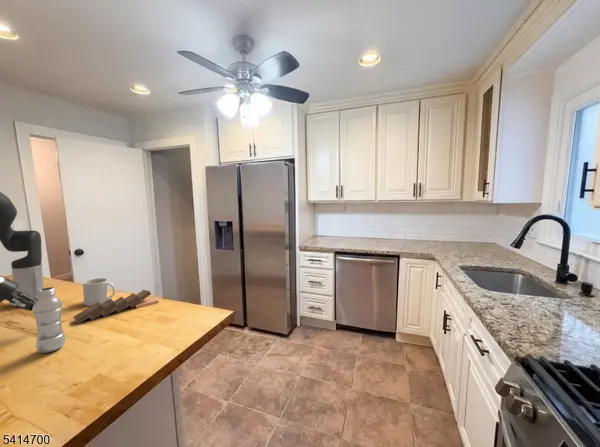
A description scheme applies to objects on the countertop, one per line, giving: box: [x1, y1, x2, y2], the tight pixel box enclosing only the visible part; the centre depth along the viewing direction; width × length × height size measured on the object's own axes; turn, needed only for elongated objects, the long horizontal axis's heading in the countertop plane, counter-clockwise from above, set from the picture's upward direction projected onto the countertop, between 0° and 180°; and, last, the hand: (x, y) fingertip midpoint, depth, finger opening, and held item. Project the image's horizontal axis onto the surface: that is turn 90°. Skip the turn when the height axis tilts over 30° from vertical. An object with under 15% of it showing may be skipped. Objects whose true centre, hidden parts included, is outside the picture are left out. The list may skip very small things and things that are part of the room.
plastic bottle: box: [32, 286, 66, 354], centre depth 80 cm, size 6×7×20 cm
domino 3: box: [101, 296, 127, 318], centre depth 107 cm, size 2×5×9 cm
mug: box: [82, 277, 116, 307], centre depth 118 cm, size 11×10×10 cm
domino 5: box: [127, 289, 152, 309], centre depth 116 cm, size 2×5×9 cm
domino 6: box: [134, 296, 160, 309], centre depth 117 cm, size 2×5×9 cm
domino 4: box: [114, 292, 139, 314], centre depth 111 cm, size 2×5×9 cm
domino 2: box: [88, 297, 116, 321], centre depth 104 cm, size 2×5×9 cm
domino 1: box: [73, 301, 103, 325], centre depth 101 cm, size 2×5×9 cm
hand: (48, 311), depth 93 cm, fingers closed
